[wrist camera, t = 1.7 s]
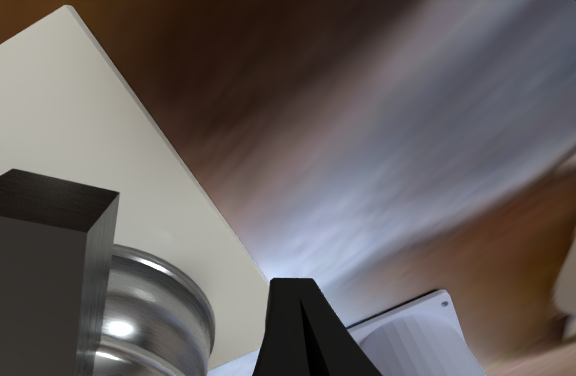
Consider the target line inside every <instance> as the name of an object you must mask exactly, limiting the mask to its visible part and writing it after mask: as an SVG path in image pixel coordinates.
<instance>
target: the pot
mask: <svg viewBox="0 0 576 376" xmlns="http://www.w3.org/2000/svg"><path fill="white" fill-rule="evenodd" d="M215 330H216V323H215V316H214V312H213V309H212V306H211V304H210V302H209V300H208V299H207V297H206V295H205V294H204V292H203V291H202V290H201V288H200V287H199V286H198V285H197V284H196V283H195V282H194V281H193V280H192V279H191V278H190V277H189V276H188V275H187V274H185V273H184V272H183V271H181V270H180V269H179V268H177V267H176V266H174V265H172V264H171V263H169V262H167V261H166V260H163V259H161V258H159V257H157V256H155V255H153V254H150V253H147V252H144V251H141V250H138V249H136V248H132V247H127V246H123V245H119V244H113V250H112V258H111V266H110V273H109V281H108V288H107V296H106V303H105V311H104V319H103V326H102V334H101V335H105V336H109V337H113V338H116V339H119V340H122V341H125V342H128V343H130V344H133V345H136V346H138V347H140V348H143V349H145V350H147V351H149V352H151V353H153V354H155V355H157V356H159V357H160V358H162V359H164V360H165V361H167V362H169V363H170V364H172V365H173V366H174V367H175V368H177V369H178V370H179V371H181V372H182V373H183V374H184V375H185V376H207V370H208V362H209V358H210V355H211V353H212V350H213V346H214V341H215Z"/></svg>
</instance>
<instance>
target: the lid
mask: <svg viewBox="0 0 576 376" xmlns="http://www.w3.org/2000/svg"><path fill="white" fill-rule="evenodd" d="M119 197H120V192H117V191H113V190H108V189H104V188H99V187H95V186H90V185H86V184H81V183H77V182H73V181H68V180H64V179H59V178H55V177H50V176H46V175H41V174H37V173H32V172H28V171H23V170H19V169H14V168H13V169H11V170H9V171H7V172H6V173H4V174H2V175H0V376H185V375H184V374H183V373H182V372H181V371H179V370H178V369H177V368H175V367H174V366H173V365H172V364H170V363H169V362H167V361H165V360H164V359H162V358H160V357H159V356H157V355H155V354H153V353H151V352H149V351H147V350H145V349H143V348H140V347H138V346H136V345H133V344H130V343H128V342H125V341H122V340H119V339H116V338H113V337H109V336H105V335H101V334H102V326H103V319H104V311H105V303H106V296H107V288H108V281H109V273H110V266H111V258H112V250H113V243H114V235H115V228H116V220H117V213H118V205H119Z"/></svg>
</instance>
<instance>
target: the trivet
mask: <svg viewBox="0 0 576 376" xmlns="http://www.w3.org/2000/svg"><path fill="white" fill-rule="evenodd" d="M13 168H14V169H19V170H23V171H28V172H32V173H37V174H41V175H46V176H50V177H55V178H59V179H64V180H68V181H73V182H77V183H81V184H86V185H90V186H95V187H99V188H104V189H108V190H113V191H117V192H120V197H119V205H118V213H117V220H116V228H115V235H114V243H113V244H119V245H123V246H127V247H132V248H136V249H138V250H141V251H144V252H147V253H150V254H153V255H155V256H157V257H159V258H161V259H163V260H166V261H167V262H169V263H171V264H172V265H174V266H176V267H177V268H179V269H180V270H181V271H183V272H184V273H185V274H187V275H188V276H189V277H190V278H191V279H192V280H193V281H194V282H195V283H196V284H197V285H198V286H199V287H200V288H201V290H202V291H203V292H204V294H205V295H206V297H207V299H208V300H209V302H210V304H211V306H212V309H213V312H214V316H215V323H216V330H215V341H214V346H213V350H212V353H211V355H210V358H209V362H208V370H207V371H209V370H212V369H214V368H216V367H218V366H221V365H223V364H225V363H228V362H230V361H232V360H234V359H237V358H239V357H241V356H243V355H246V354H248V353H250V352H253V351H255V350H257V349H259V348H261V345H262V341H263V337H264V333H265V318H266V310H267V302H268V293H269V285H270V282H269V281H268V279H267V278H266V277H265V275H264V274H263V272H262V271H261V270H260V268H259V267H258V265H257V264H256V263H255V261H254V260H253V258H252V257H251V256H250V254H249V253H248V251H247V250H246V249H245V247H244V246H243V244H242V243H241V242H240V240H239V239H238V237H237V236H236V235H235V233H234V232H233V230H232V229H231V228H230V226H229V225H228V223H227V222H226V221H225V219H224V218H223V216H222V215H221V214H220V212H219V211H218V209H217V208H216V207H215V205H214V204H213V202H212V201H211V200H210V198H209V197H208V195H207V194H206V193H205V191H204V190H203V188H202V187H201V186H200V184H199V183H198V181H197V180H196V179H195V177H194V176H193V174H192V173H191V172H190V170H189V169H188V167H187V166H186V165H185V163H184V162H183V160H182V159H181V158H180V156H179V155H178V153H177V152H176V151H175V149H174V148H173V146H172V145H171V144H170V142H169V141H168V139H167V138H166V137H165V135H164V134H163V132H162V131H161V130H160V128H159V127H158V125H157V124H156V123H155V121H154V120H153V118H152V117H151V116H150V114H149V113H148V111H147V110H146V109H145V107H144V106H143V104H142V103H141V102H140V100H139V99H138V97H137V96H136V95H135V93H134V92H133V90H132V89H131V88H130V86H129V85H128V83H127V82H126V81H125V79H124V78H123V76H122V75H121V74H120V72H119V71H118V69H117V68H116V67H115V65H114V64H113V62H112V61H111V60H110V58H109V57H108V55H107V54H106V53H105V51H104V50H103V48H102V47H101V46H100V44H99V43H98V41H97V40H96V39H95V37H94V36H93V34H92V33H91V32H90V30H89V29H88V27H87V26H86V25H85V23H84V22H83V20H82V19H81V18H80V16H79V15H78V13H77V12H76V11H75V9H74V8H73V6H69V5H64V6H63V7H61V8H59V9H58V10H56V11H54V12H53V13H51V14H50V15H48V16H46V17H45V18H43V19H41V20H40V21H38V22H36V23H35V24H33V25H32V26H30V27H28V28H27V29H25V30H23V31H22V32H20V33H19V34H17V35H15V36H14V37H12V38H10V39H9V40H7V41H6V42H4V43H2V44H1V45H0V175H2V174H4V173H6V172H7V171H9V170H11V169H13Z"/></svg>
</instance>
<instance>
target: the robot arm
mask: <svg viewBox="0 0 576 376" xmlns="http://www.w3.org/2000/svg"><path fill="white" fill-rule="evenodd" d="M252 376H488V375H487V374H486V372H485V371H484V370H483V368H482V367H481V365H480V364H479V362H478V361H477V360H476V358H475V357H474V355H473V354H472V352H471V351H470V350H469V348H468V347H467V345H466V343H465V340H464V337H463V334H462V331H461V328H460V325H459V322H458V319H457V316H456V313H455V310H454V307H453V304H452V301H451V298H450V295H449V294H448V293H447V291H446V290H438V291H435V292H433V293H431V294H428V295H426V296H424V297H422V298H419V299H417V300H415V301H412V302H410V303H408V304H405V305H403V306H401V307H398V308H396V309H394V310H391V311H389V312H387V313H384V314H382V315H380V316H377V317H375V318H373V319H370V320H368V321H366V322H364V323H361V324H359V325H357V326H354V327H352V328H350V329H346V328H345V326H344V325H343V324H342V322H341V321H340V319H339V318H338V316H337V315H336V313H335V312H334V310H333V309H332V307H331V306H330V304H329V303H328V301H327V300H326V298H325V297H324V295H323V294H322V292H321V290H320V289H319V287H318V285H317V284H316V282H315V281H314V280H313V279H312V278H273V279H272V280H270V285H269V293H268V302H267V310H266V318H265V333H264V337H263V341H262V345H261V348H260V352H259V355H258V359H257V362H256V366H255V369H254V372H253V375H252Z"/></svg>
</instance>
